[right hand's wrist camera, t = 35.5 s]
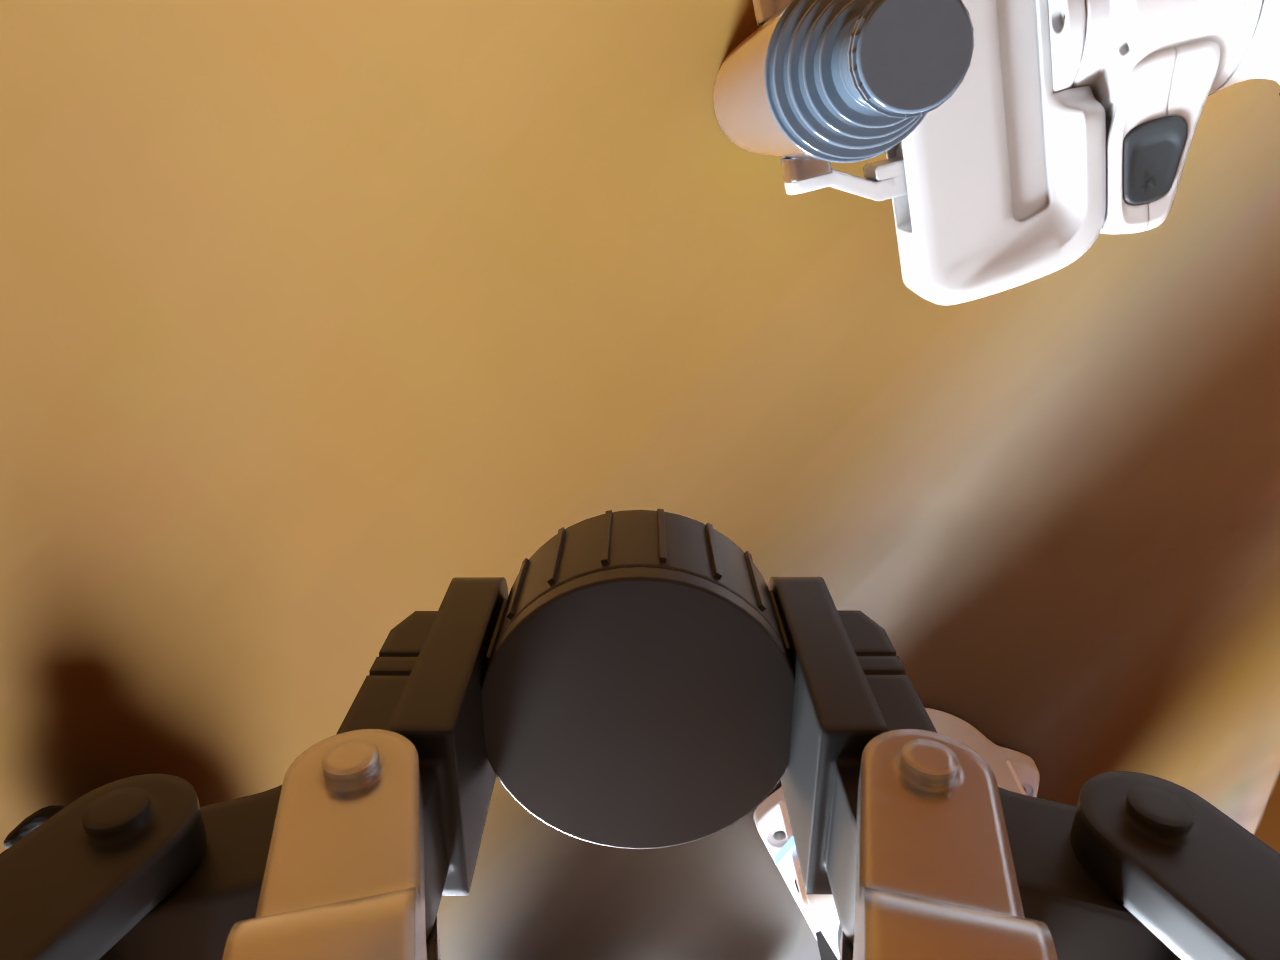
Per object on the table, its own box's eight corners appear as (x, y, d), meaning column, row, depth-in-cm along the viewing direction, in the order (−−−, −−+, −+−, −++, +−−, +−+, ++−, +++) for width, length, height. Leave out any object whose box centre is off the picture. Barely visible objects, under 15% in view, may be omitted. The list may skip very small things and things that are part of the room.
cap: (491, 732, 13) (463, 836, 11) (513, 485, 11) (488, 552, 9) (750, 763, 13) (770, 869, 11) (804, 523, 12) (837, 596, 10)
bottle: (779, 7, 39) (953, -142, 18) (844, 103, 41) (1071, 65, 20) (690, 87, 40) (758, 32, 20) (756, 177, 42) (884, 215, 21)
